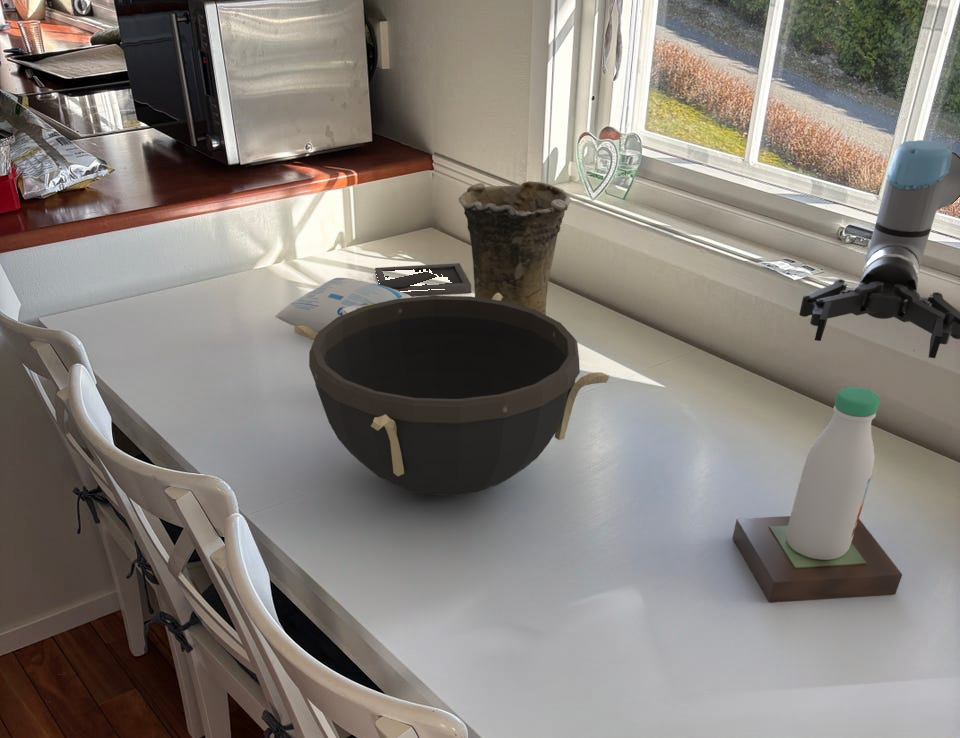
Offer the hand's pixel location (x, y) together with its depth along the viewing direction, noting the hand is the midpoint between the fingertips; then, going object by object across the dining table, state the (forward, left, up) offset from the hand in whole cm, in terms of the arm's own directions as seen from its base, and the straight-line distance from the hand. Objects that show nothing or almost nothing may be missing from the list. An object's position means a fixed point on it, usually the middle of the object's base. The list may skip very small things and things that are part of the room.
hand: (876, 338), depth 118 cm
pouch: (+65, -68, -24) cm, 97 cm away
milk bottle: (+8, +14, -20) cm, 26 cm away
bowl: (+52, -12, -24) cm, 59 cm away
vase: (+37, -56, -24) cm, 71 cm away
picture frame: (+50, -91, -24) cm, 106 cm away
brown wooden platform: (+8, +14, -23) cm, 29 cm away
